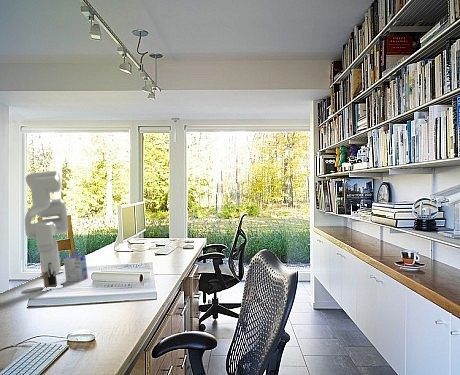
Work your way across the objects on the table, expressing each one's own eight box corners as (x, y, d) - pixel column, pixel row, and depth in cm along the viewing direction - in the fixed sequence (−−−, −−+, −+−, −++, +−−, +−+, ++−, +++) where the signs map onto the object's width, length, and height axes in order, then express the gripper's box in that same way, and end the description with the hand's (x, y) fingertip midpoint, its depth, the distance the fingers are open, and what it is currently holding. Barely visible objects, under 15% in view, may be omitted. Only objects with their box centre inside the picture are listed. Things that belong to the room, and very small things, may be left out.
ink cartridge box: (88, 278, 239) (85, 250, 238) (83, 280, 233) (79, 252, 233) (71, 279, 241) (68, 252, 240) (65, 282, 235) (62, 254, 235)
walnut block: (44, 288, 226) (42, 271, 226) (55, 285, 229) (53, 269, 228) (46, 289, 222) (44, 273, 222) (57, 287, 224) (55, 270, 224)
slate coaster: (19, 291, 225) (19, 290, 225) (41, 286, 230) (41, 286, 230) (23, 294, 217) (23, 293, 217) (45, 289, 222) (45, 289, 222)
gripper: (34, 248, 230) (39, 282, 230) (41, 251, 215) (45, 287, 216) (50, 245, 234) (54, 279, 234) (57, 248, 219) (62, 284, 220)
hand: (50, 283), depth 225 cm, fingers open, 8 cm apart
